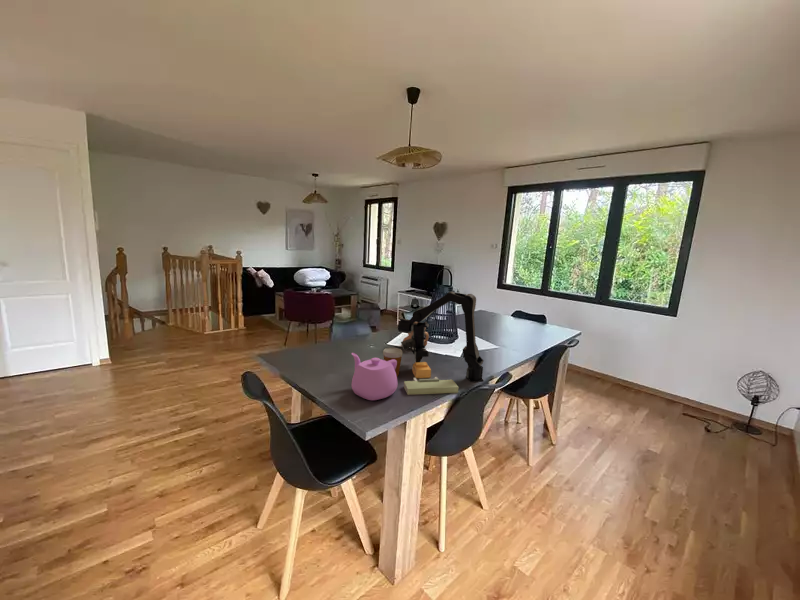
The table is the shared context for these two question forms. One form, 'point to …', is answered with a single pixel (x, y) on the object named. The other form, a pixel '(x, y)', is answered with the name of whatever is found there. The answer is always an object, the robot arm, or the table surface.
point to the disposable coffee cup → (393, 357)
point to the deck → (430, 386)
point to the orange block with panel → (421, 370)
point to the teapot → (374, 378)
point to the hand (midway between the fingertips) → (417, 364)
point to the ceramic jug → (412, 334)
